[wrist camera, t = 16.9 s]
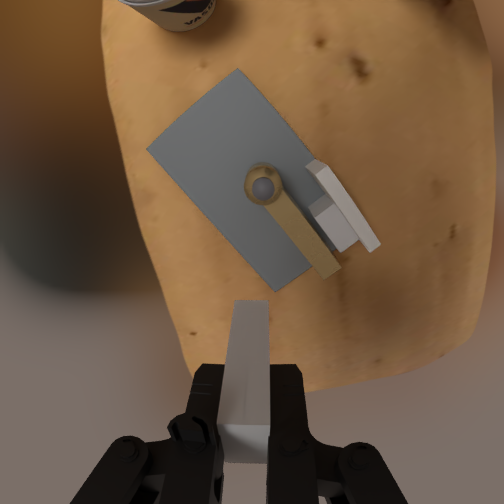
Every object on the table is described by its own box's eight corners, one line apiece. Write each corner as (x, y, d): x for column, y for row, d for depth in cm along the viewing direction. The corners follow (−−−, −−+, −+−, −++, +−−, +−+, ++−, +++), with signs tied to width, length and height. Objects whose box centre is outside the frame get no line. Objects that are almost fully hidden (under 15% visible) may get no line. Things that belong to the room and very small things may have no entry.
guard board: (238, 69, 29) (232, 51, 21) (361, 225, 36) (386, 251, 28) (149, 148, 33) (118, 155, 25) (274, 288, 40) (277, 326, 32)
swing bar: (239, 175, 33) (235, 184, 28) (265, 155, 32) (266, 160, 27) (312, 263, 37) (319, 285, 32) (335, 246, 36) (347, 266, 31)
